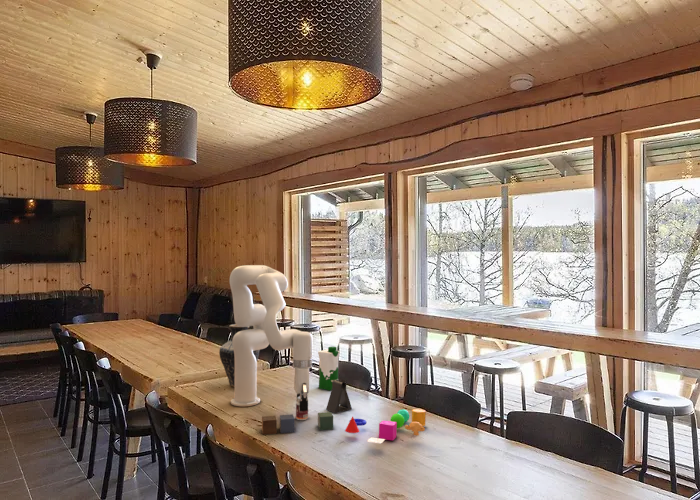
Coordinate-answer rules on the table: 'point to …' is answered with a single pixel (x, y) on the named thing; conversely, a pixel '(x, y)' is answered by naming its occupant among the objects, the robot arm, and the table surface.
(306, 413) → the pill bottle
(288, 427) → the slate blue block
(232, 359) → the jug
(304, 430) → the table surface
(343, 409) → the phone stand
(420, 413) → the shape set
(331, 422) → the dark green block
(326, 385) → the milk carton
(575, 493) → the table surface
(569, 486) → the table surface
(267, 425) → the walnut block
